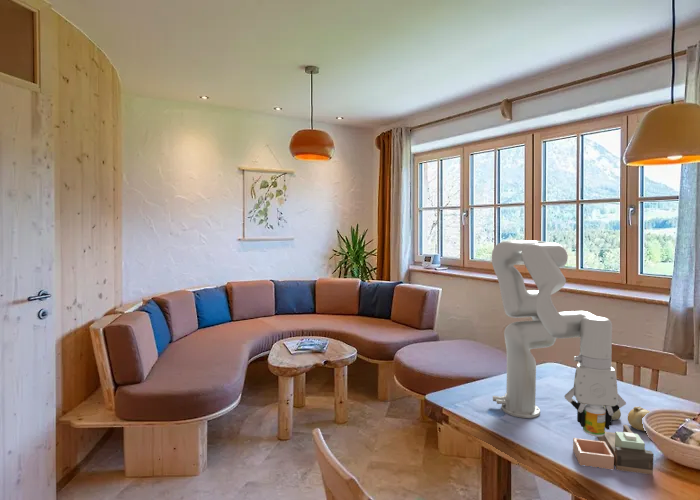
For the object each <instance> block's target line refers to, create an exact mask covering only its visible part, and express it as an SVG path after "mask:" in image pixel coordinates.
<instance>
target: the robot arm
mask: <svg viewBox="0 0 700 500" xmlns="http://www.w3.org/2000/svg"><path fill="white" fill-rule="evenodd" d="M567 262H568V252H567V250H566V249H565V248H564V246H563V245H561V244H559V243H558V242H548V241H543V240H505V241H501V242H498V243H497V244H496V245H495V246H494V247H493V249H492V253H491V264H492V268H493V271H494V273H495V276H496V277H497V281H498V285H499V292H500V296H501V301H502V306H503V311H504V314H505V315H506V316H508V317H509V318H517V319H518V318H531V319H532V320H523V321H521V320H520V321H513V322H511V323H509V324H508V325H506V327H505V328H504V331H503V333H504V334H503V335H504V344H505V348H506V393H504V395H501V396H499V395H492V402H496V404H497V405H501V410H502V411H503V412H504V413H506V414H508V415H509V416H512V417H516V418H521V419H532V418H537V417H539V416H540V415H541V408H539V406H537V405H536V395H537V394H536V391H537V389H536V387H537V384H536V383H537V362H536V358H535V356H534V355H533V354H532V352H531V350H533V349H534V350H535V349H543V348H550V347H552V346H554V344H555V343H556V341H557V339H572V338H580V339H579V341H580V342H579V345H580V347H579V354H578V355H577V356H576V355H575V356H573V360H574V362H578V363H577V364H576V369H575V371H574V372H575V374H574V380H573V387H572V388H571V389H570V390H569V391H568V392H567V393H565V395H564V396H563V397H564V399H565V400H566V401H567V402H569V403H570V404H571V405H572V407H574V409H576V412H577V413H576V414H577V417H576V419H577V422H578V423H579V425H580V427H582V428H583V427H585V413H584V407H585V405H586V404H589V405H600V406H605V409H606V419H605V430H609V431H610V426H612V421H613V420H612V415H613V414H614V413H615V412H616V411H617V410H619V409H621V408H622V407H624V406H625V405H627V402H626V401H625V400H624V399H623V397H621V395H620V394H619V393H618V391H619V390H618V383H617V382H618V381H617V374H616V370H615V368H614V367H612V354H613V353H612V349H613V348H612V346H613V345H612V344H613V322H612V321H611V319H609V318H607V317H604V316H598V315H595V314H593V313H591V312H590V311H585V310H575V311H574V310H571V311H570V310H569V311H558V309H557V308H556V307H555V305H554V302H553V300H552V295H553V294H555V293H557V292H559V291H560V290H562V289H563V287H564V286H565V285H566V282H567V279H566V277H565V276H564V273H563V272H562V270H561V268H563V267H564V266H565V265H566V264H567ZM516 265H525V268H526V269H527V271H528V273H529V276H530V277H531V279H532V280H533V282H534V284H535V285H536V287H537V289H538V290H537V289H528V290H527V288H526V285H525V280H524V277H523V276H522V274H521V272H520V271H519V270H518V269H517V268H516V267H515V266H516ZM573 397H575V399H573Z"/></svg>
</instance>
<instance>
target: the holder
mask: <svg viewBox="0 0 700 500" xmlns="http://www.w3.org/2000/svg"><path fill="white" fill-rule="evenodd" d="M572 441H573V442H572V443H573V444H572V451H573V453H574V456H575V458H576V460H577V462H578V465H579V464H580V465H579V466H582V465H585V467H589V466H592V467H591V468H597V467H599V468H598V469H604V468H605V469H606V470H612V471H614V470H615V466H614V456H613V454H612V452H611V451H610V449H609V447H608V446H607V444H606V442H604V441H599V440H594V439H593V440H592V439H586V438H577V437H573V439H572Z"/></svg>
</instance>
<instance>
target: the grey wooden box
mask: <svg viewBox="0 0 700 500" xmlns="http://www.w3.org/2000/svg"><path fill="white" fill-rule="evenodd" d="M622 432H629V433H634V432H633V431H632V430H631V429H630V427H629V426H628V425H627V424H623V426H622ZM597 439H598V441H604V442H606V444H607V446H608V447H609V449H610V451H611V452H612V454H613V456H614V469H616V471H622V472H629V473H638V474H645V475H651V476H652V475H654V453H653V451H652V450H647V449H645V450H639V449H631V448H623V447H615V432H611V431H606V430H605V435H604V436H601V437H597Z"/></svg>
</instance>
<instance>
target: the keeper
mask: <svg viewBox="0 0 700 500" xmlns="http://www.w3.org/2000/svg"><path fill="white" fill-rule="evenodd" d="M614 433H615V447H623V448H631V449H639V450H646V443H645V442H644V440H643V439H642V438H641V436H640V435H639V434H638V433H634V432H633V433H629V432H623V431H615V432H614Z"/></svg>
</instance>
